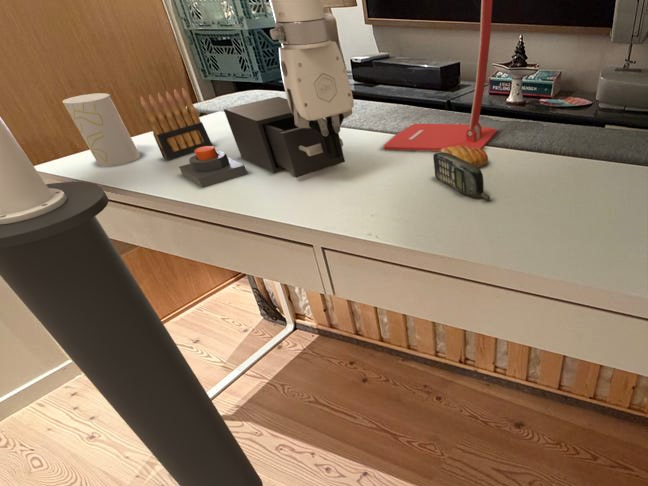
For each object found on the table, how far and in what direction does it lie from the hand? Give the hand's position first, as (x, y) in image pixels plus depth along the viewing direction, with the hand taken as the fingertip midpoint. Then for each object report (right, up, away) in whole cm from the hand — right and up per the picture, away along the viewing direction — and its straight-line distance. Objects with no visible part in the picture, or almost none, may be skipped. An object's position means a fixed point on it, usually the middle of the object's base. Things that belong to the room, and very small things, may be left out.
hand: (333, 156), depth 83 cm
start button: (-27, +2, +6) cm, 27 cm away
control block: (-27, 0, +8) cm, 28 cm away
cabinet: (-15, +6, +14) cm, 22 cm away
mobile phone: (+23, -7, -1) cm, 24 cm away
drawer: (-8, +2, +8) cm, 11 cm away
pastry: (+23, +1, +7) cm, 24 cm away
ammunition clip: (-39, +9, +20) cm, 44 cm away
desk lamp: (+16, +13, +21) cm, 29 cm away
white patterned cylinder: (-53, +7, +18) cm, 56 cm away
